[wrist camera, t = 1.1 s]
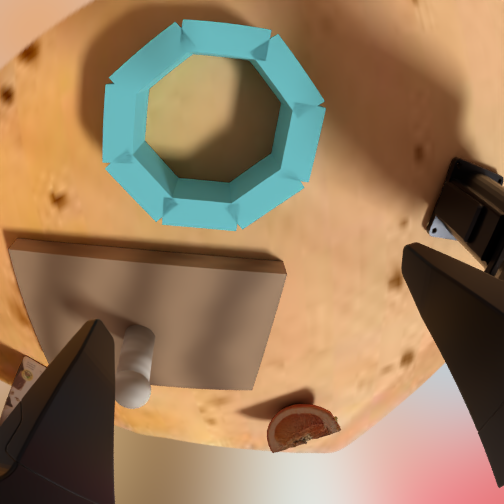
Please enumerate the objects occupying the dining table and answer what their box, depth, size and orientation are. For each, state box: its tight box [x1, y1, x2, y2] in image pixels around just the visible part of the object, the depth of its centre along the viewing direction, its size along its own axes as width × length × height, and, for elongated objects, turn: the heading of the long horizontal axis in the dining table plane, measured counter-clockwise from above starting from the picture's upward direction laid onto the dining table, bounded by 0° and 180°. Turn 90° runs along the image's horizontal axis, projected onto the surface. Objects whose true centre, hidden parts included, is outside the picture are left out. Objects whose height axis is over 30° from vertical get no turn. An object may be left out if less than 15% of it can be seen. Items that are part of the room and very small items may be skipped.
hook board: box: [8, 238, 287, 409], centre depth 21 cm, size 20×14×8 cm
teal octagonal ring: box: [103, 19, 326, 231], centre depth 16 cm, size 11×11×3 cm
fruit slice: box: [267, 404, 341, 453], centre depth 33 cm, size 8×7×5 cm
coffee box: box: [0, 356, 46, 425], centre depth 22 cm, size 9×6×16 cm
